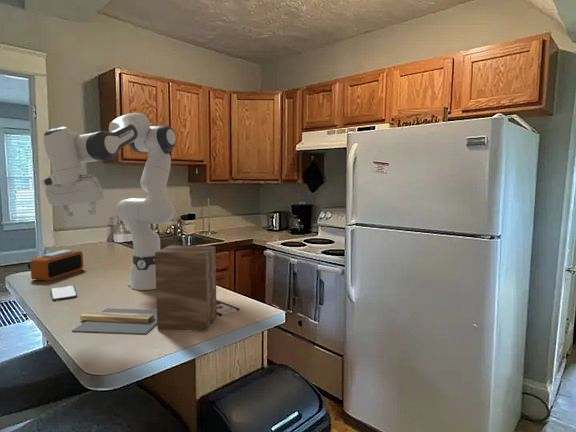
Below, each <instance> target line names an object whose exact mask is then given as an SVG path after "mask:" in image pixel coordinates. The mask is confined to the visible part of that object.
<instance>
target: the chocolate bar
mask: <svg viewBox="0 0 576 432" xmlns="http://www.w3.org/2000/svg"><path fill="white" fill-rule="evenodd" d="M216 304H217V315H218V316H217V317H223V316H225V314H226V315H229V314H231V312H232V313H234V312H235V313H236V312H238V311H240V310H241V309H240V307H237V306H234V305H231V304H228V303H226V302H224V301H222V300H218V299H216ZM228 313H229V314H228ZM222 315H223V316H222Z"/></svg>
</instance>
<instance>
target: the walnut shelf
mask: <svg viewBox="0 0 576 432" xmlns="http://www.w3.org/2000/svg"><path fill="white" fill-rule="evenodd" d="M216 250H217V249H216V245H214V246H213V245H167V246H166V247H164V248H160V250H159V251H157V252H155V270H156V289H155V292H156V294H155V296H156V298H155V299H156V310H157V325H156V326H157V330H160V331H164V330H165V331H185V330H192V331H191V332H207V331H208V330H209V329H210V327H211V326H212V325H211V324H213V323H214V322H215V321H216V319H217V318H218V316H217V304H216V300H217V263H216V262H217V260H216V259H217V258H216V254H217V253H216V252H217V251H216ZM216 317H217V318H216ZM213 321H214V322H213ZM210 325H211V326H210ZM208 328H209V329H208ZM195 330H196V331H195Z"/></svg>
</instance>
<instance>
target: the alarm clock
mask: <svg viewBox="0 0 576 432" xmlns="http://www.w3.org/2000/svg"><path fill="white" fill-rule="evenodd" d="M29 265H30V277H31V278H30V279H32V280H33V279H36V280H35V281H39V280H44V281H43V282H50V281H49V280H51V281H53V279H54V280H56V279H60V278H62V277H65V276H67V275H71V274H74V273H77V272H80V271H82V270H83V269H84V255H83V252H82V251H81V250H72V249H62V250H58V251H54V252H53V251H52V252H49V253H46V254H43V255H42V256H39V257H36V258H33V259H31V260H30V264H29Z"/></svg>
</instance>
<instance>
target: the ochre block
mask: <svg viewBox="0 0 576 432" xmlns="http://www.w3.org/2000/svg"><path fill="white" fill-rule="evenodd" d="M153 319H154V314H133V313H111V312H102V311H85V312H83V313H82V314H80V315H79V320H80V321H88V320H92V321H113V322H133V323H149V322H150V321H152V320H153Z"/></svg>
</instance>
